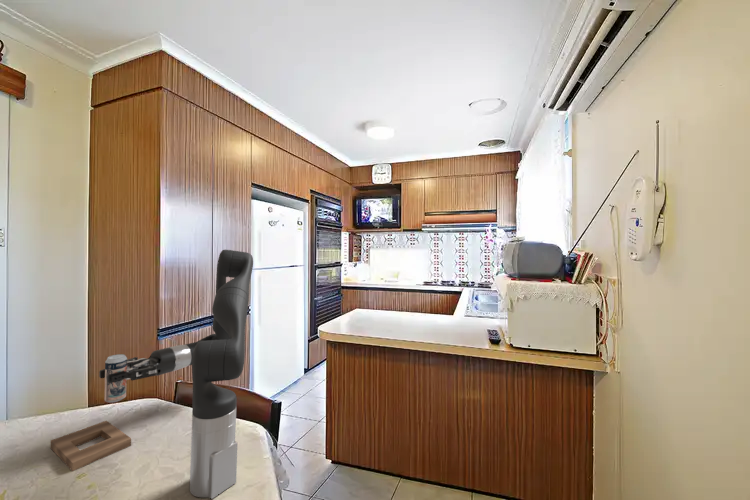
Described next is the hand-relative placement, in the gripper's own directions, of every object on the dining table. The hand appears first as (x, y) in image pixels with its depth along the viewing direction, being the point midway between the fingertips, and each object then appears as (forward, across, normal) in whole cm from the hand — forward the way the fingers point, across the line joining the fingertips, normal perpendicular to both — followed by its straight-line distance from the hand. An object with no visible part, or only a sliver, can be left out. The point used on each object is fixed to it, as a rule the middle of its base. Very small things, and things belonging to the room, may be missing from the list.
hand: (104, 376), depth 86 cm
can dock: (+2, -2, +19) cm, 19 cm away
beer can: (-3, 0, +7) cm, 8 cm away
